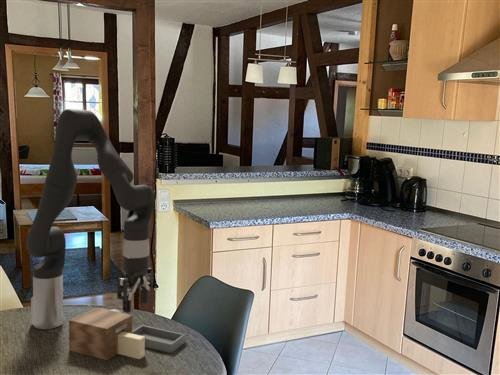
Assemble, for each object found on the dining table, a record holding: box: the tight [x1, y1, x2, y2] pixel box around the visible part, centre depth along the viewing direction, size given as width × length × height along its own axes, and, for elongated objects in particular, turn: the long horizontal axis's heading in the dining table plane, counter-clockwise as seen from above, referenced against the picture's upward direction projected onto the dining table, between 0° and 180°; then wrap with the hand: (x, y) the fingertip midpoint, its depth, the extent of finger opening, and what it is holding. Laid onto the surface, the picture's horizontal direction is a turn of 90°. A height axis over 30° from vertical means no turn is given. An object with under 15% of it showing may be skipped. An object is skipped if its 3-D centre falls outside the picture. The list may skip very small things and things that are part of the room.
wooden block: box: [68, 306, 133, 361], centre depth 149 cm, size 15×12×10 cm
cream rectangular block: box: [116, 331, 146, 360], centre depth 146 cm, size 12×3×6 cm, turn 68°
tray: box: [132, 324, 186, 354], centre depth 155 cm, size 16×8×3 cm, turn 68°
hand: (135, 307), depth 144 cm, fingers open, 8 cm apart
